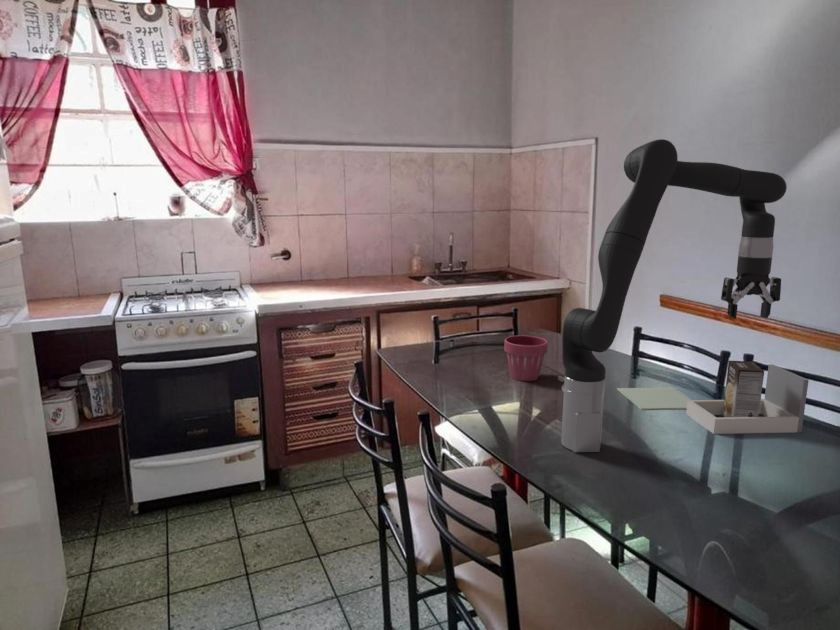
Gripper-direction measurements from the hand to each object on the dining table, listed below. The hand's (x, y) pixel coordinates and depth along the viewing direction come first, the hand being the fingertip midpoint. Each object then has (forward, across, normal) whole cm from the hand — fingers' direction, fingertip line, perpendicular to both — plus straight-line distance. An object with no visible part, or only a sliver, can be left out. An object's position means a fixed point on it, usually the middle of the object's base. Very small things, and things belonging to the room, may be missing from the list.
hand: (748, 317), depth 152 cm
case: (+28, 0, -1) cm, 29 cm away
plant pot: (+28, -47, +43) cm, 70 cm away
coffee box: (+29, 0, -1) cm, 29 cm away
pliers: (+29, -34, +33) cm, 56 cm away
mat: (+28, -13, +19) cm, 37 cm away
